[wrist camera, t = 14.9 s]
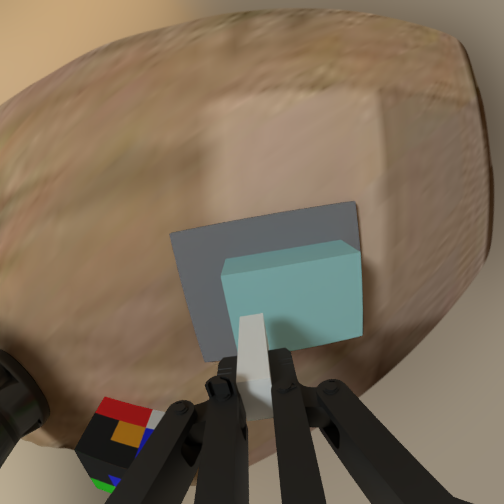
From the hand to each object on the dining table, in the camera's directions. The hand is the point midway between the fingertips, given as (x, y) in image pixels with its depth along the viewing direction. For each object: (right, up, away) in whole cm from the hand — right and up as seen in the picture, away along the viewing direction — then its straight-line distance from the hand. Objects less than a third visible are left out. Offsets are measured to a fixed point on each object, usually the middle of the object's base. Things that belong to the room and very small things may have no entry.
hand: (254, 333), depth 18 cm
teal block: (-2, +1, +4) cm, 5 cm away
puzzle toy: (-15, -19, +12) cm, 27 cm away
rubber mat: (+2, +2, +7) cm, 8 cm away
